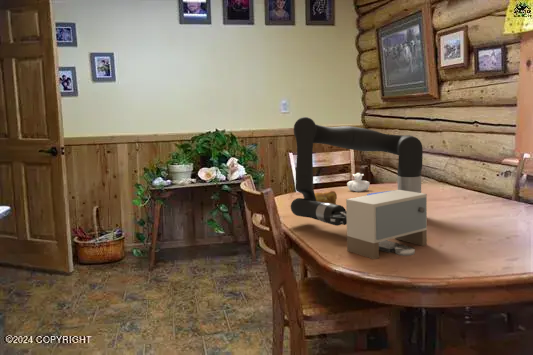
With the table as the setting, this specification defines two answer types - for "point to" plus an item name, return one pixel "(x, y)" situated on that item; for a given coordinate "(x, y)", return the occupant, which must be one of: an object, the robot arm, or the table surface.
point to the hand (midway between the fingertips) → (363, 221)
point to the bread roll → (326, 197)
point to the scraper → (388, 246)
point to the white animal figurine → (358, 183)
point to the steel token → (404, 250)
